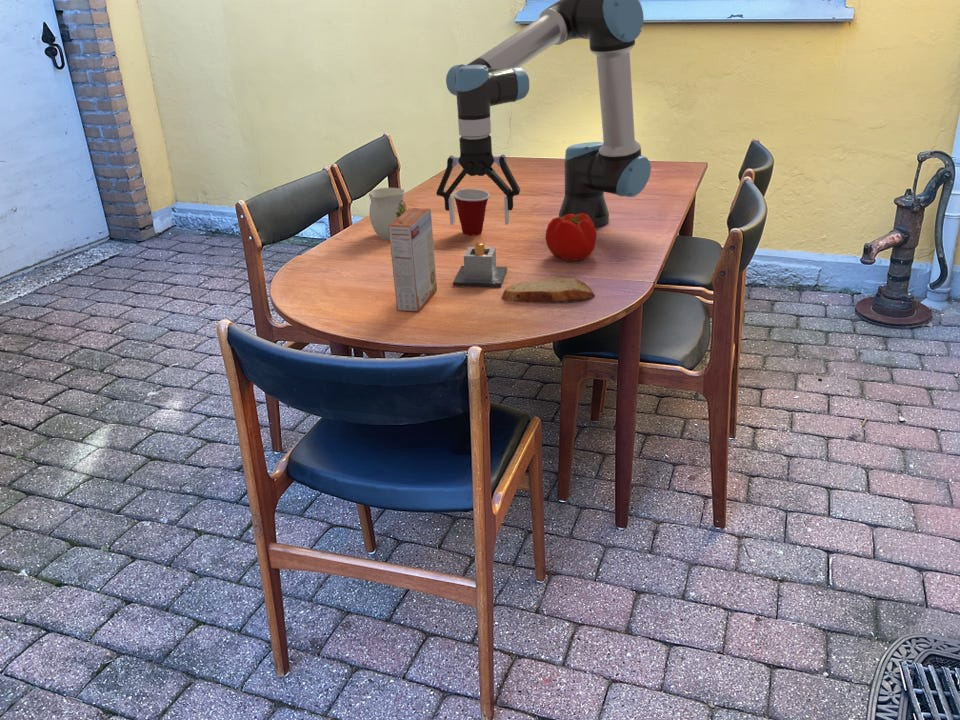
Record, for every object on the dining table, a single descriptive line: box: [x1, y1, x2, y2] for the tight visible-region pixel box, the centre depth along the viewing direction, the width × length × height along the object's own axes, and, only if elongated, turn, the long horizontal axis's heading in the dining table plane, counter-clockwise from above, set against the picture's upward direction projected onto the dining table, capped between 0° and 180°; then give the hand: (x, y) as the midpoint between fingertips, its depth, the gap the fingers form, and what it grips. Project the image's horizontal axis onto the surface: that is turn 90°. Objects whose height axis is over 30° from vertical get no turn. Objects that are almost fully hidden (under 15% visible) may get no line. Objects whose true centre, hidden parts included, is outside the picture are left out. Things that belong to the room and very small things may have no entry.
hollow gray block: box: [463, 246, 497, 280], centre depth 204 cm, size 7×7×6 cm
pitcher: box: [368, 187, 408, 240], centre depth 237 cm, size 11×18×14 cm, turn 163°
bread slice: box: [501, 277, 596, 304], centre depth 193 cm, size 18×18×4 cm
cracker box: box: [388, 207, 438, 313], centre depth 189 cm, size 14×6×21 cm, turn 165°
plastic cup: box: [452, 188, 491, 237], centre depth 237 cm, size 11×11×12 cm
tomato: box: [545, 213, 597, 262], centre depth 215 cm, size 13×14×12 cm
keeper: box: [452, 242, 508, 288], centre depth 203 cm, size 12×12×9 cm
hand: (479, 223), depth 199 cm, fingers open, 13 cm apart
